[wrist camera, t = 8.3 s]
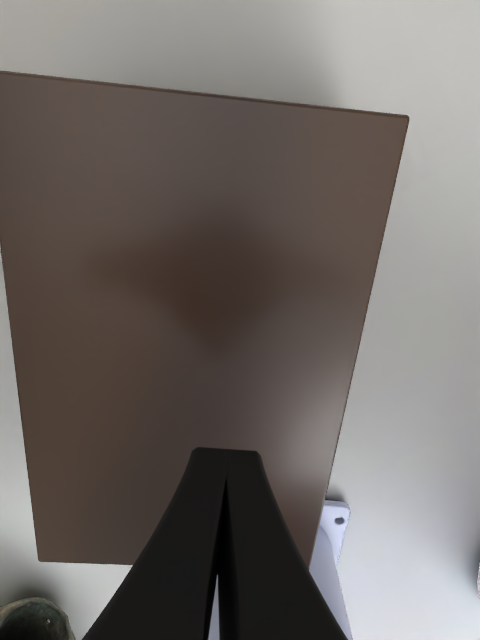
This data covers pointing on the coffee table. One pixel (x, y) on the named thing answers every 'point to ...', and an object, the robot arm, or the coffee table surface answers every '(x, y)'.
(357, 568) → the coffee table surface
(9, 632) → the axe head
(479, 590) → the can
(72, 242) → the brown rectangular panel
